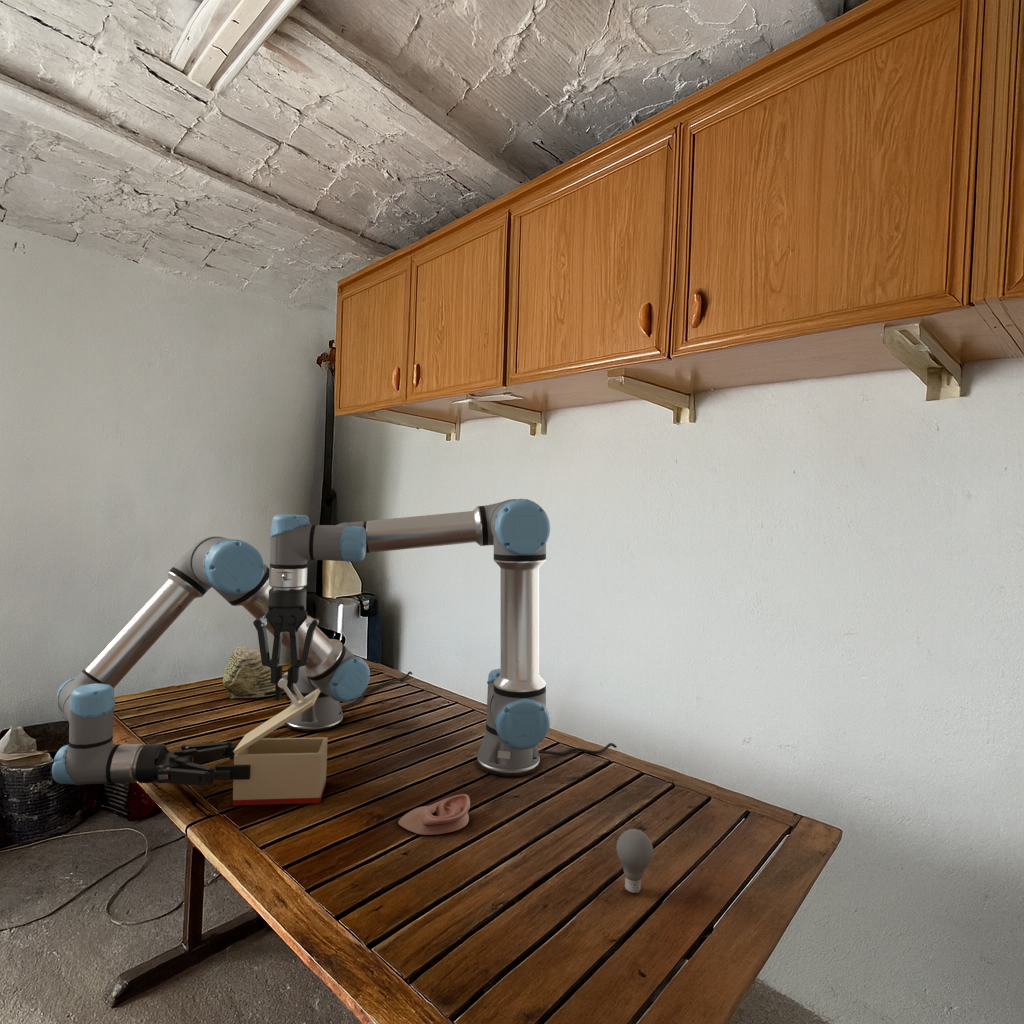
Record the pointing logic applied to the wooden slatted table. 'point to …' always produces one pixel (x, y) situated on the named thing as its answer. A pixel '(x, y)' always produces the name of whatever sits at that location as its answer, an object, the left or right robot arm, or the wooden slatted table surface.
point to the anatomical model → (438, 816)
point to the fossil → (248, 675)
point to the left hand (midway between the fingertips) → (255, 761)
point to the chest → (282, 771)
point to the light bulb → (634, 857)
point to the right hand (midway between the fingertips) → (284, 698)
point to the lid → (279, 715)
